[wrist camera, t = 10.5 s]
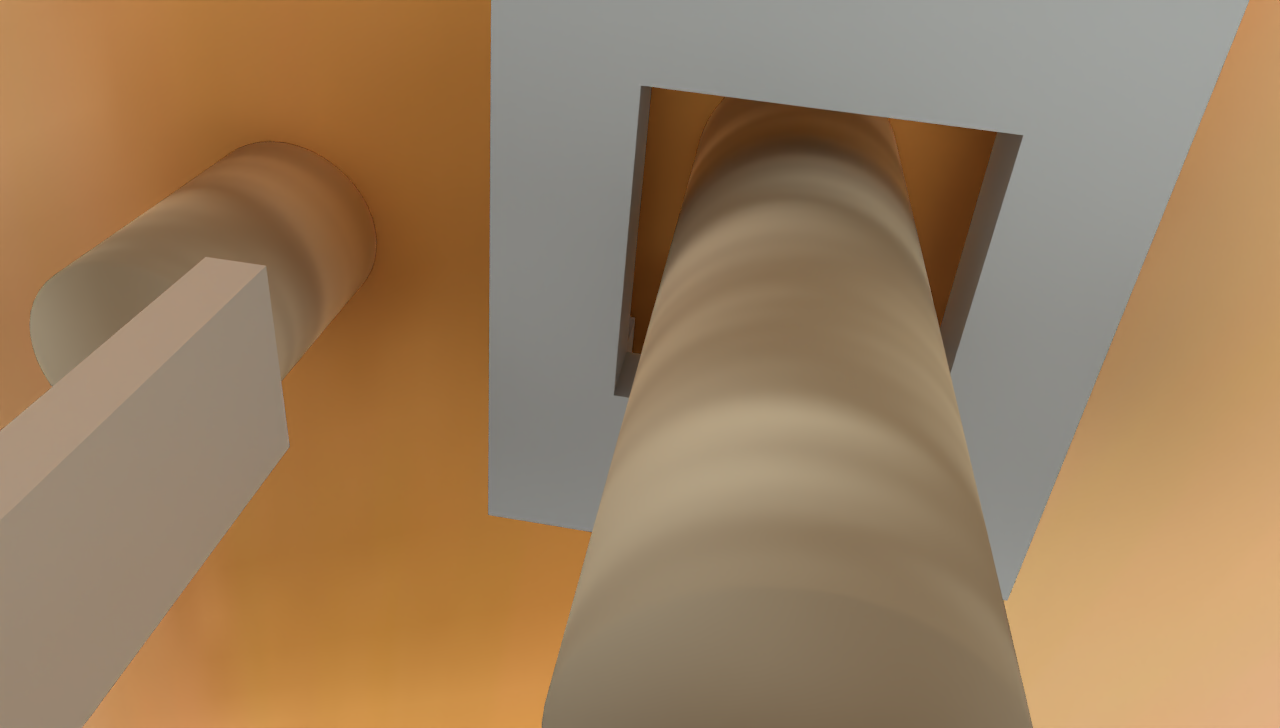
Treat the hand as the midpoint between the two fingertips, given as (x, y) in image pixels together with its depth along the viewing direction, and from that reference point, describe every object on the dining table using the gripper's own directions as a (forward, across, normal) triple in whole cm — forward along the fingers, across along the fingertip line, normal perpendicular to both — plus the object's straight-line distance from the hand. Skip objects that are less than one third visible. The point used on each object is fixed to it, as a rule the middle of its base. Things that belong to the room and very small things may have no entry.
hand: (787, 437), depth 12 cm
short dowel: (+9, -11, -3) cm, 15 cm away
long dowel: (+9, 0, 0) cm, 9 cm away
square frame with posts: (+9, 0, 0) cm, 9 cm away
